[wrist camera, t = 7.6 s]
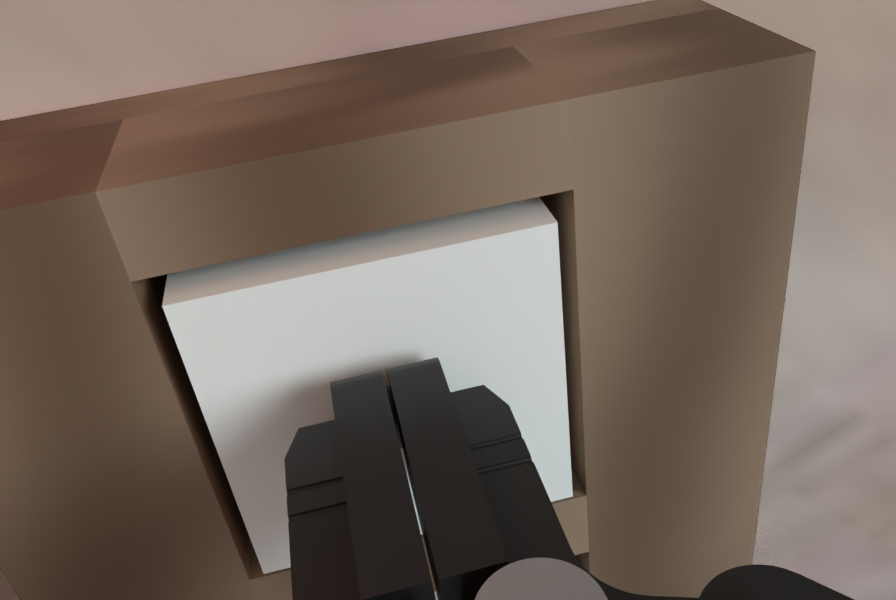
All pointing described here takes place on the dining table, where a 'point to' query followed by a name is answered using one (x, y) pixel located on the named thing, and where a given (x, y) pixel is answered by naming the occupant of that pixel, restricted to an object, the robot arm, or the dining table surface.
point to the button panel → (394, 204)
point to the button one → (373, 340)
